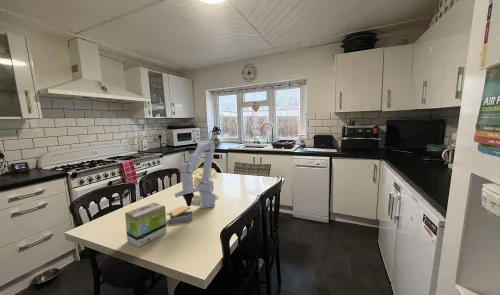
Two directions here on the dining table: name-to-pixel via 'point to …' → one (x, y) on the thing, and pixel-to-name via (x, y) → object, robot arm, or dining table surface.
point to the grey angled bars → (181, 219)
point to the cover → (178, 211)
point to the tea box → (145, 223)
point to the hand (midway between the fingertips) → (188, 205)
